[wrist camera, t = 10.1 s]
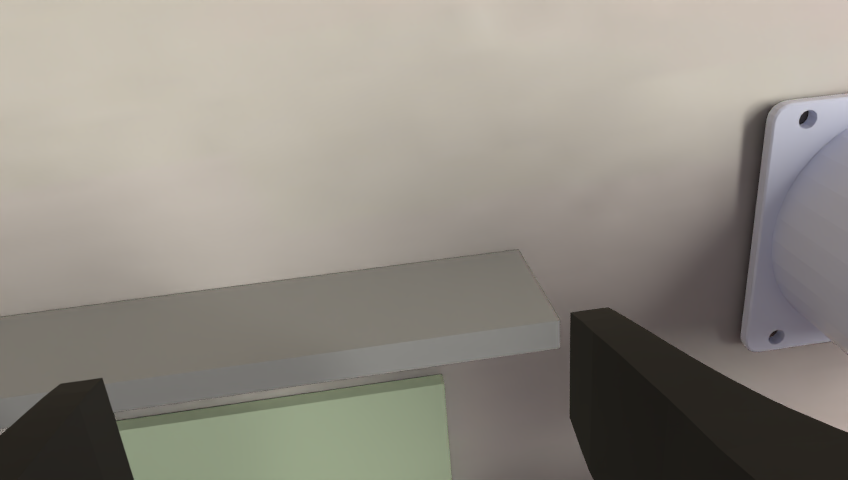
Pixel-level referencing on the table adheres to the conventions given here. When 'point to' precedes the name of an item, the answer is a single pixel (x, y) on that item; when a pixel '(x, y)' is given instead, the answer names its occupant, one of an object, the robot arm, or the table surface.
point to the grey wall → (279, 333)
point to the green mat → (301, 437)
